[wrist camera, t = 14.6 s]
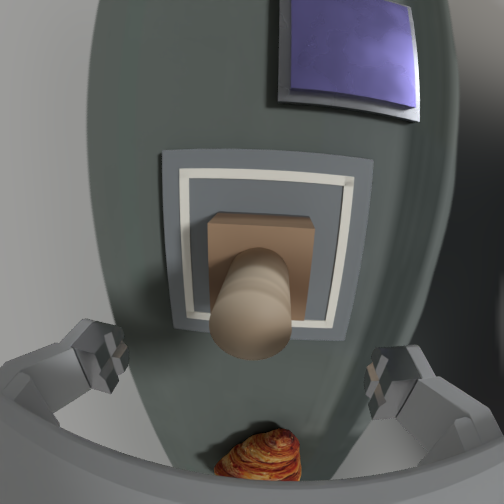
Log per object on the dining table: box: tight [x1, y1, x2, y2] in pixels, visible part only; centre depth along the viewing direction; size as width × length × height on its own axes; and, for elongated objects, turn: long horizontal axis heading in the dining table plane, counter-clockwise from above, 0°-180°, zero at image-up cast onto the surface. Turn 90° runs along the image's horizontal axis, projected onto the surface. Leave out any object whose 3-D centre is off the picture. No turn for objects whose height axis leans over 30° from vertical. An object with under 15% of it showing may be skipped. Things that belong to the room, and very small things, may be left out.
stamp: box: [208, 211, 315, 360], centre depth 14 cm, size 6×6×8 cm
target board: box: [162, 149, 374, 341], centre depth 18 cm, size 13×13×1 cm
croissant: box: [214, 429, 301, 481], centre depth 26 cm, size 21×10×8 cm, turn 168°
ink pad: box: [278, 0, 420, 123], centre depth 13 cm, size 9×9×2 cm
